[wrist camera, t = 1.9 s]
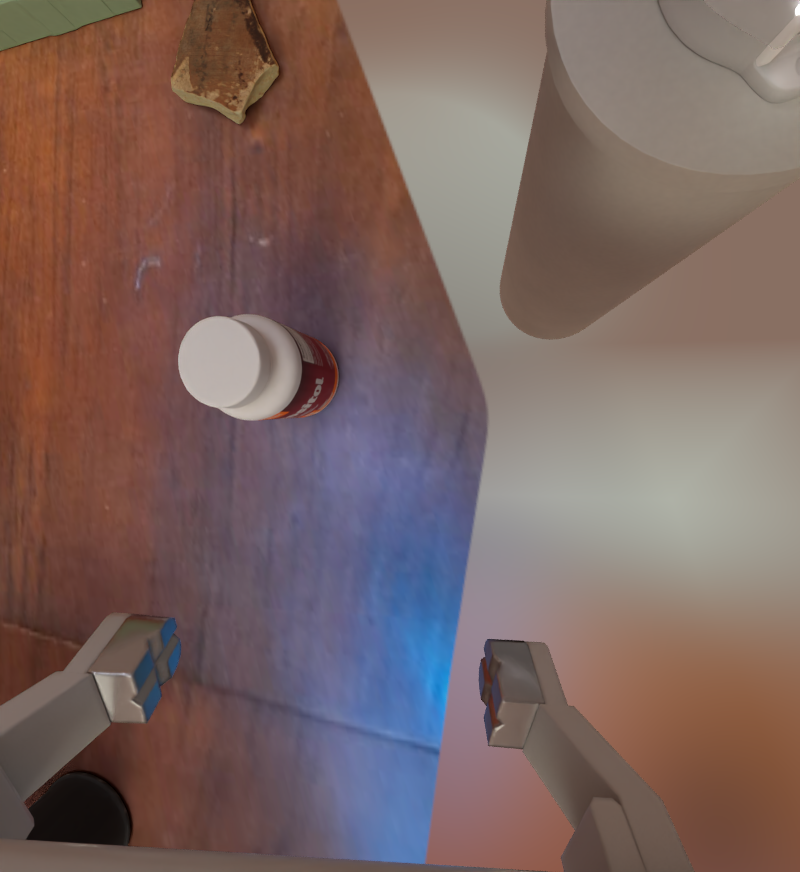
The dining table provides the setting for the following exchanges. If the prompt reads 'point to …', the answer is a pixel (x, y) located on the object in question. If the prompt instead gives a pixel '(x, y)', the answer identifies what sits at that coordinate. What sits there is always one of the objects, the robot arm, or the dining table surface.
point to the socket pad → (53, 17)
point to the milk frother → (80, 812)
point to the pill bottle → (257, 368)
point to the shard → (223, 58)
